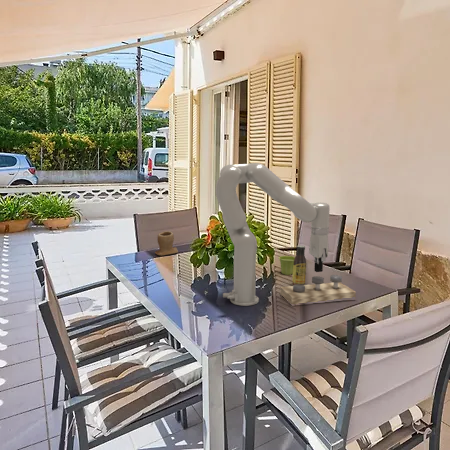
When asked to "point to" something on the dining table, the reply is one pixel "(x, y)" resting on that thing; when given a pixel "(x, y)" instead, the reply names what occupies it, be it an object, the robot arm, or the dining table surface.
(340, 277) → the far knob
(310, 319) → the dining table surface
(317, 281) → the middle knob
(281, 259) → the plant pot
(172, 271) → the dining table surface
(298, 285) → the near knob
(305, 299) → the knob mount
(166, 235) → the stone cup
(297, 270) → the sauce bottle
